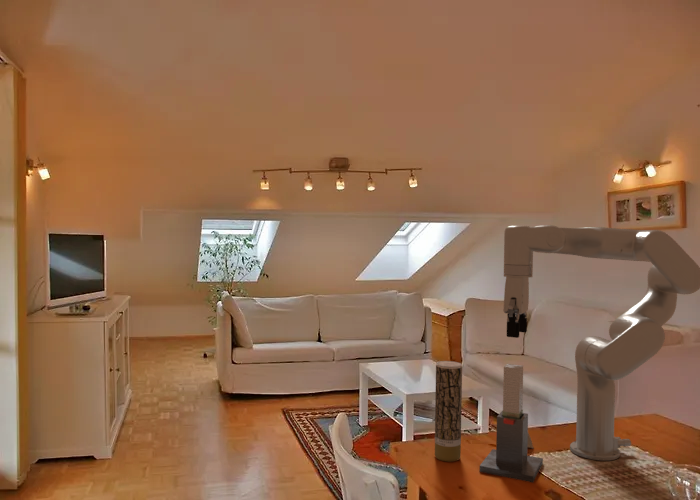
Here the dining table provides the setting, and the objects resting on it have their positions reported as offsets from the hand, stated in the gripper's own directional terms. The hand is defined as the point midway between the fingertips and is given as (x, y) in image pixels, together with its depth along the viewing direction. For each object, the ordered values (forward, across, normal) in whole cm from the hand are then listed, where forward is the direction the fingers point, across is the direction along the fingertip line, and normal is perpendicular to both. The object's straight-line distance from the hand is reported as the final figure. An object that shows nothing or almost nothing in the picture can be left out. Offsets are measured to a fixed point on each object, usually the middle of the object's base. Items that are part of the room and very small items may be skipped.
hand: (516, 334), depth 158 cm
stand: (+32, +11, +2) cm, 34 cm away
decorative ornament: (+33, -8, 0) cm, 34 cm away
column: (+24, +11, +2) cm, 27 cm away
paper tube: (+32, +13, -15) cm, 38 cm away
